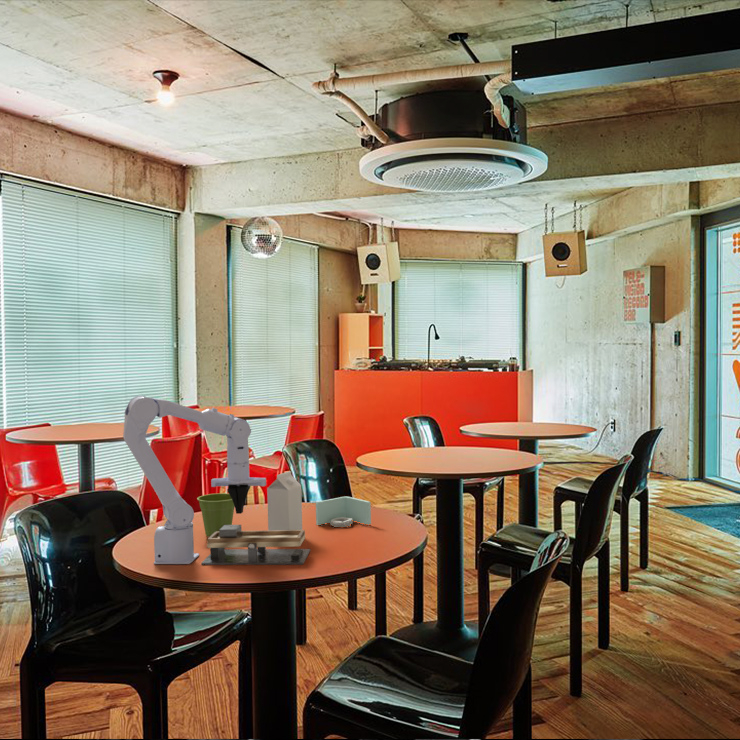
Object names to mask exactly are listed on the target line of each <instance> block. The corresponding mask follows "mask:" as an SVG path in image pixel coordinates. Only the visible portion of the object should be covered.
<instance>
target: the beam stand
mask: <svg viewBox="0 0 740 740" xmlns="http://www.w3.org/2000/svg"><path fill="white" fill-rule="evenodd" d="M209 549H210V551H209V552H210V553H209V554H208V555H207V557H206V558H205V559H203V560H202V561H201V562H200V564H201V566H203V565H204V564H205V565H206V566H208V565H209V566H224V565H225V566H236V565H238V566H240V565H241V566H244V565H245V566H247V565H248V566H252V565H253V566H254V565H255V566H256V565H258V566H261V565H263V566H264V565H265V566H266V565H267V566H273V565H274V566H275V565H276V566H280V565H283V566H284V565H285V566H287V565H288V566H290V565H291V566H292V565H293V566H296V565H298V566H299V565H302V566H303V565H304V564H305V562H306V560H307V558H308V556H309V554H310V552H311V548H281V549H280V548H267V547H257V543H249V544H248V547H247V548H245V549H244V548H241V549H238V548H234V549H232V548H231V549H229V548H228V549H227V548H209ZM205 565H204V566H205Z"/></svg>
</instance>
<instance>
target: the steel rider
mask: <svg viewBox="0 0 740 740" xmlns="http://www.w3.org/2000/svg"><path fill="white" fill-rule="evenodd" d="M242 531H243V530H242V524H232V525H224V526H223V527H222V528H221V529H220V530H219V537H220V538H240V537H241V536H242Z"/></svg>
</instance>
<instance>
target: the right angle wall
mask: <svg viewBox="0 0 740 740" xmlns="http://www.w3.org/2000/svg"><path fill="white" fill-rule="evenodd" d="M371 505H372V504H371V501H368V500H364V499H361V498H356V497H351V496H349V495H348V496H345V495H344V496H340V497H335V498H330V499H329V498H328V499H325V500H320V501H319V500H318V501H316V502H315V522H316V524H315V525H321V524H325V523H330V524H329V526H331V525H332V526H334V527H347V526H350V524H352V525H353V523H354V522H353V521H357V522H360V523H364V524H368V525H369V524H371V525H372V507H371ZM352 520H353V521H352ZM325 525H326V524H325ZM321 526H322V525H321ZM334 527H333V528H334ZM350 527H351V526H350ZM347 528H348V527H347Z"/></svg>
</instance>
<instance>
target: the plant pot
mask: <svg viewBox="0 0 740 740" xmlns="http://www.w3.org/2000/svg"><path fill="white" fill-rule="evenodd" d="M196 499H197V501H198V504H199V508H200V510H201V516H202V523H203V527H204V533H205V536H206V537H208V538H209V537H210V536H211V535H212V534H213V533H215V532H216V531H219V530H220V529H221V528H222V527H223V526H224V525H233V518H234V514H235V512H234V511H235V506H234V503H233V501H232V498H231V496H230V495H229V493H228V492H227V493H225V492H224V493H222V492H220V493H209V494H203V495H201V496H198V497H197V498H196Z"/></svg>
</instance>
